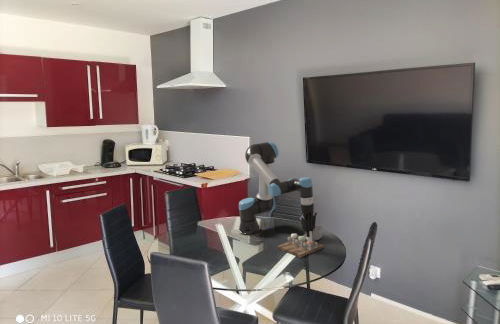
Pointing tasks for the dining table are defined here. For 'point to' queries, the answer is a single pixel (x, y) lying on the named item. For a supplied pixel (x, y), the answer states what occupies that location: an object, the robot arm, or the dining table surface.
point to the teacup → (317, 233)
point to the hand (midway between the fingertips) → (310, 241)
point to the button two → (301, 238)
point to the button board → (299, 247)
